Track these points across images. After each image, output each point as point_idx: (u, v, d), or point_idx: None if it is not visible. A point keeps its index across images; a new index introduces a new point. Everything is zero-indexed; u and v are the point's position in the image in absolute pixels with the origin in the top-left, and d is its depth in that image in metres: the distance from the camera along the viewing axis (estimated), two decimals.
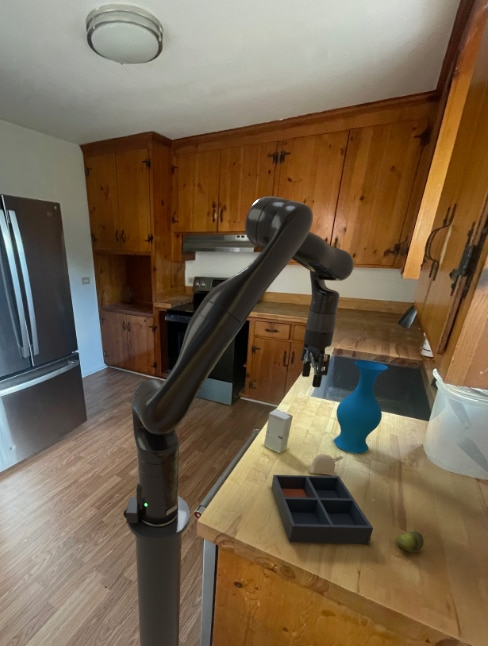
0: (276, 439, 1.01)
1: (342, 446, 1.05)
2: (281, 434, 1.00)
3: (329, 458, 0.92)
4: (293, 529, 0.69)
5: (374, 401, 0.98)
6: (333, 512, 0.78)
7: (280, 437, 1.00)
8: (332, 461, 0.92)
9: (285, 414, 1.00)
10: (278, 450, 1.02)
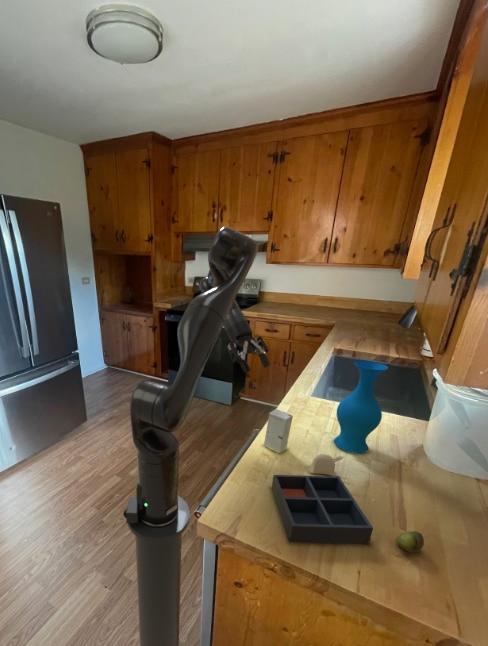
0: (276, 439, 1.01)
1: (342, 446, 1.05)
2: (281, 434, 1.00)
3: (329, 458, 0.92)
4: (293, 529, 0.69)
5: (374, 401, 0.98)
6: (333, 512, 0.78)
7: (280, 437, 1.00)
8: (332, 461, 0.92)
9: (285, 414, 1.00)
10: (278, 450, 1.02)
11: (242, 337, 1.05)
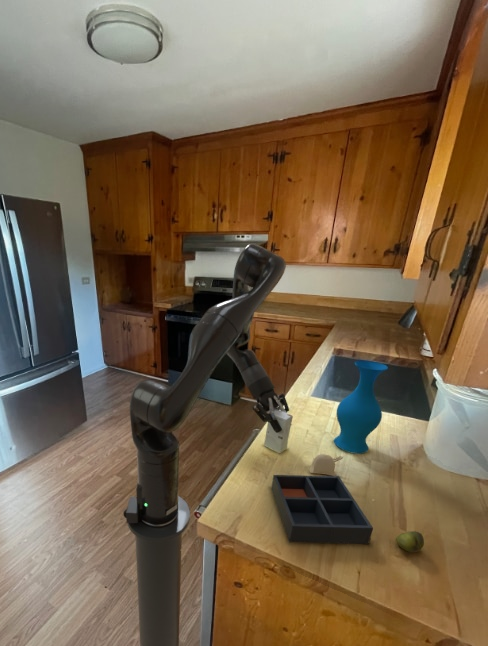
0: (276, 439, 1.01)
1: (342, 446, 1.05)
2: (281, 434, 1.00)
3: (329, 458, 0.92)
4: (293, 529, 0.69)
5: (374, 401, 0.98)
6: (333, 512, 0.78)
7: (280, 437, 1.00)
8: (332, 461, 0.92)
9: (285, 414, 1.00)
10: (278, 450, 1.02)
11: (265, 394, 1.02)
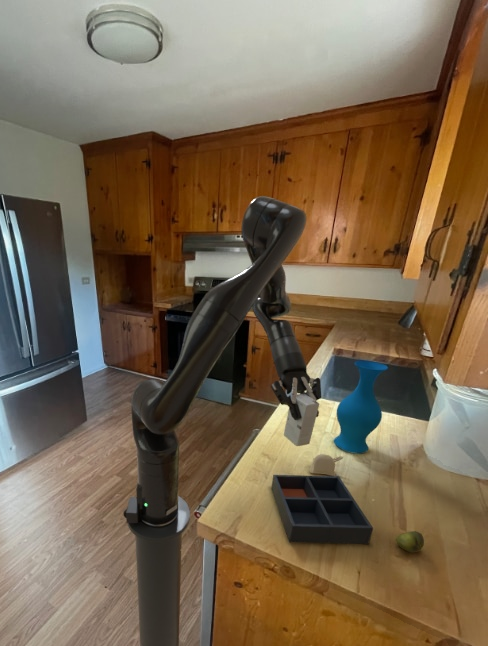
0: (295, 429, 0.84)
1: (342, 446, 1.05)
2: (300, 423, 0.82)
3: (329, 458, 0.92)
4: (293, 529, 0.69)
5: (374, 401, 0.98)
6: (333, 512, 0.78)
7: (298, 426, 0.82)
8: (332, 461, 0.92)
9: (310, 400, 0.81)
10: (295, 442, 0.84)
11: (291, 372, 0.85)
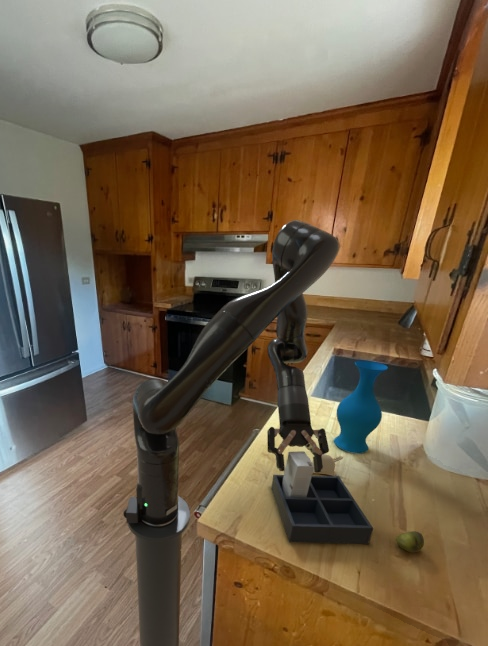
0: (288, 487, 0.80)
1: (342, 446, 1.05)
2: (292, 483, 0.78)
3: (329, 458, 0.92)
4: (293, 529, 0.69)
5: (374, 401, 0.98)
6: (333, 512, 0.78)
7: (290, 486, 0.78)
8: (332, 461, 0.92)
9: (305, 461, 0.77)
10: None
11: (292, 424, 0.81)
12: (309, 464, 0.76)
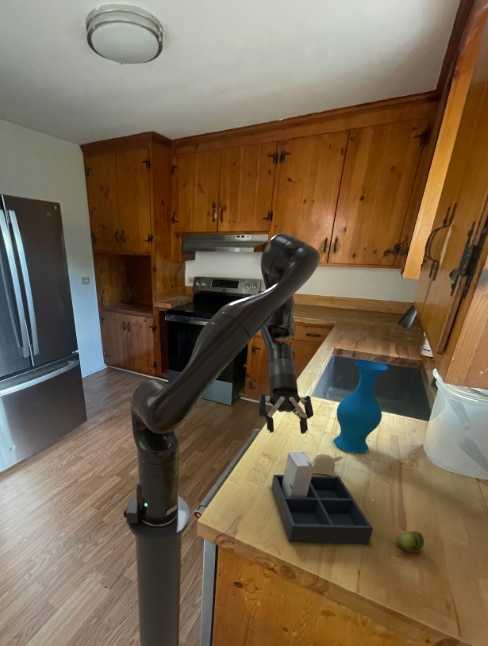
0: (288, 487, 0.80)
1: (342, 446, 1.05)
2: (292, 483, 0.78)
3: (329, 458, 0.92)
4: (293, 529, 0.69)
5: (374, 401, 0.98)
6: (333, 512, 0.78)
7: (290, 486, 0.78)
8: (332, 461, 0.92)
9: (305, 461, 0.77)
10: None
11: (281, 392, 0.91)
12: (309, 464, 0.76)
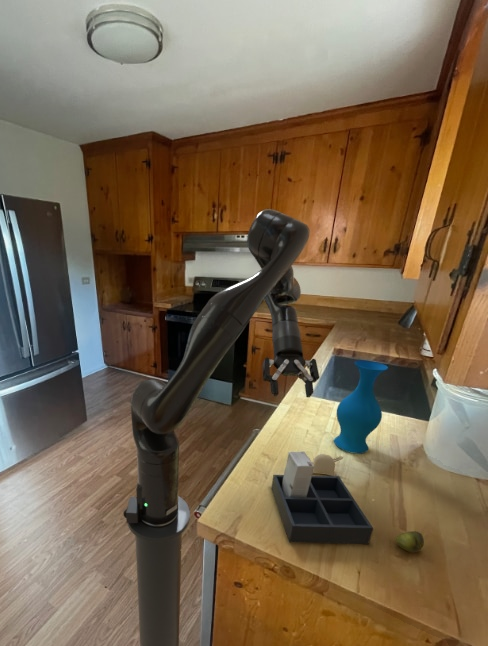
0: (288, 487, 0.80)
1: (342, 446, 1.05)
2: (292, 483, 0.78)
3: (329, 458, 0.92)
4: (293, 529, 0.69)
5: (374, 401, 0.98)
6: (333, 512, 0.78)
7: (290, 486, 0.78)
8: (332, 461, 0.92)
9: (305, 461, 0.77)
10: None
11: (285, 355, 0.88)
12: (309, 464, 0.76)
